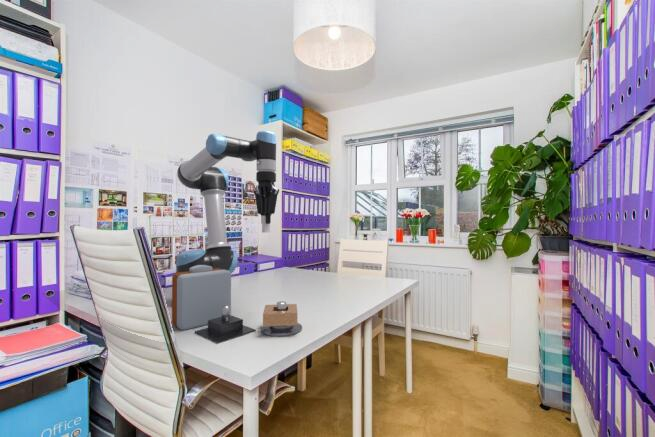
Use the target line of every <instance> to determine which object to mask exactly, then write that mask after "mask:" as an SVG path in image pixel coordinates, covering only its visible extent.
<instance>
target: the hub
mask: <svg viewBox="0 0 655 437" xmlns="http://www.w3.org/2000/svg"><path fill="white" fill-rule="evenodd" d="M286 304H287V301H282V300H281V301H280V300H279V301H277V302H276V305H277V311H286ZM302 330H303V326H302V324H301V323H299V322H297V325H291V326H265V327H263V325H262V326H261V327H260V332H261V334H263V335H265V336H269V337H279V338H280V337H290V336H294V335H297V334H298V333H300V332H302Z"/></svg>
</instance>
